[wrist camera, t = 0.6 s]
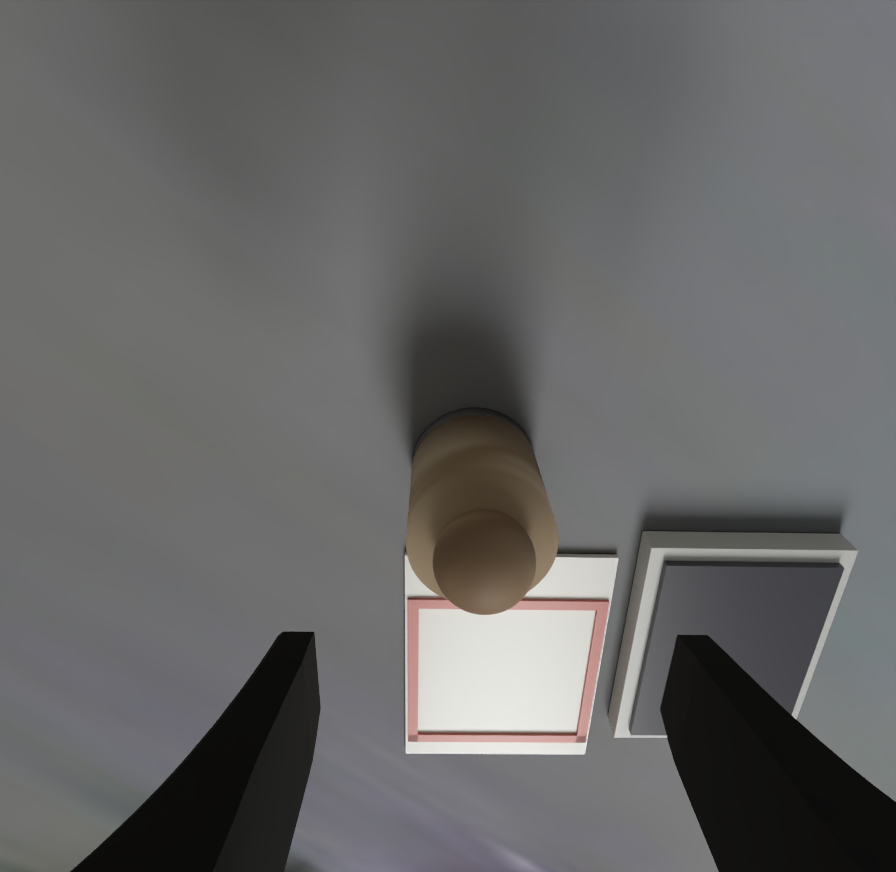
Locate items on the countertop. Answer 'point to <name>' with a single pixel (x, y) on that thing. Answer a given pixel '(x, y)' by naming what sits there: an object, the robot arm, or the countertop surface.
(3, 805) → the countertop surface
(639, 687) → the ink pad
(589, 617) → the sheet
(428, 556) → the stamp
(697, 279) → the countertop surface
